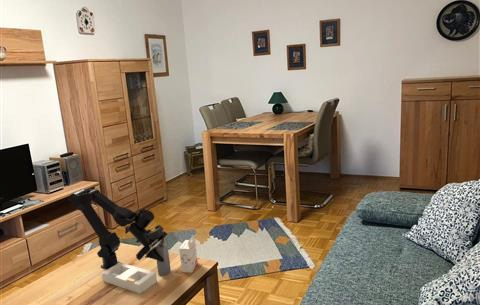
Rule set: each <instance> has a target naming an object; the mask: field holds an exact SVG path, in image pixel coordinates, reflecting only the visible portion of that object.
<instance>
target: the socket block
mask: <svg viewBox="0 0 480 305" xmlns="http://www.w3.org/2000/svg"><path fill="white" fill-rule="evenodd" d="M118 262H119V263H118V264H116V265H114V266H113V267H111V268H109V269H106V270H105V271H102V273H101V275H102V280H103V282H105V283H108V284H110V285H114V286H116V287H119V288H123V289H125V290H128V291H131V292H134V293H137V294H142V293H143V292H145V291H146V290H147V289H149V288H150V287H152V286H154V284H155V283H157V282H158V279H157V272H154V271H150V270H148V269H145V268H140V267H137V266H134V265H131V264H127V263H124V262H120V261H118Z"/></svg>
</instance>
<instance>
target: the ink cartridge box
mask: <svg viewBox="0 0 480 305" xmlns="http://www.w3.org/2000/svg"><path fill="white" fill-rule="evenodd" d="M196 245H197V244H196V238H195V234H192V235H191V237H190V238H189V239H185V240H184V241H183V243H182V244H181V245H180V247H178V250H179V258H180V265H181V266H180V267H181V272H182V273H190V274H191V273H193V272H194V270H195V268H196V266H197V265H198V256H197V255H198V253H197V246H196Z"/></svg>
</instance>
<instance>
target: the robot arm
mask: <svg viewBox="0 0 480 305" xmlns="http://www.w3.org/2000/svg"><path fill="white" fill-rule="evenodd" d="M68 200H69V202H70V204H71V206H73V207H74V209H76V210H78V211H80V212H81V213H82V214H83V216H84V217H85V219H86V220H87V222H88V223H89V225H90V226H91V228H92V229H93V231H94V232H95V234H96V235H97V237H98V245H99V247H100V249H99V250H98V251H97V253H96V254H97V256H98V258H102V264H101V265H100V268H102V269H106V270H108V269H109V268H111V267H113V266H114V265H116V264H118V263H119V262H120V261H118V257H117V252H116V251H118V250H119V247H120V246H121V240H120V237H119V236H118V235H117V233H116V231H114V232H112V231H109V229H107V227H106V225H105V224H104V222H103V221H102V219H101V218H100V216H99V214H98V212H96V210H95V209H94V206H93V205H92V202H93V203H94V204H96V205H97V206H99V207H100V208H102V209H103V210H104V211H105V212H107V213H108V214H110V215H111V216H112V218H113V220H114V222H115V223H116V224H118V225H117V226H120V227H125V228H124V229H125V231H124V232H125V234H128V233H130V234H131V235H132V236H133V237H134V238H135V239H136V244H138V243H140V244H141V245H142V246H143V247H142V248H140V250H139V251H138V252H136V254H135V257H136V259H137V260H138V261H141V260H142V259H143V258H145V259H146V258H148V259H152V260H155V261H157V260H158V261H161V262H163V261H164V260H163V258H162V257H161V256H160V255H159V254H158V253H157V251H156V248H155V247H156V246H157V245H158V244H159V243H163V244H165V238H166V236H168V233H167V232H166V231H164V227H163V226H161V224H158V225H156V226H154V230H151V229H150V228H149V229H148V226H149V225H150V224H151V223H152V222H153V221H154V220H155V215H154V213H153V212H152V211H151V210H147V209H145V208H142V209H140V210H139V212H134V211H133V210H131V209H129V208H127V207H125V206H120V205H118V204H117V203H115V202H114V201H113V200H111V199H110V198H109V197H107V196H106V195H104V194H103V193H102V192H100V190H99V189H80V190H78V191H75V192H73V193H72V194H70V195H69V199H68Z"/></svg>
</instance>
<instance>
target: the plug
mask: <svg viewBox="0 0 480 305" xmlns="http://www.w3.org/2000/svg"><path fill="white" fill-rule="evenodd" d="M154 247H155V246H154ZM155 248H156V251H157V253H158V254H159V255H160V256H161V257H162V258H163V260H164V261H163V262H161V261H158V260H156V268H157V274H158V275H161V276H167V275H168V274H170V272H171V264H170V263H171V261H170V253H169V244H168V243H164V244H163V243H159V244H158V245H157V246H156V247H155Z"/></svg>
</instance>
